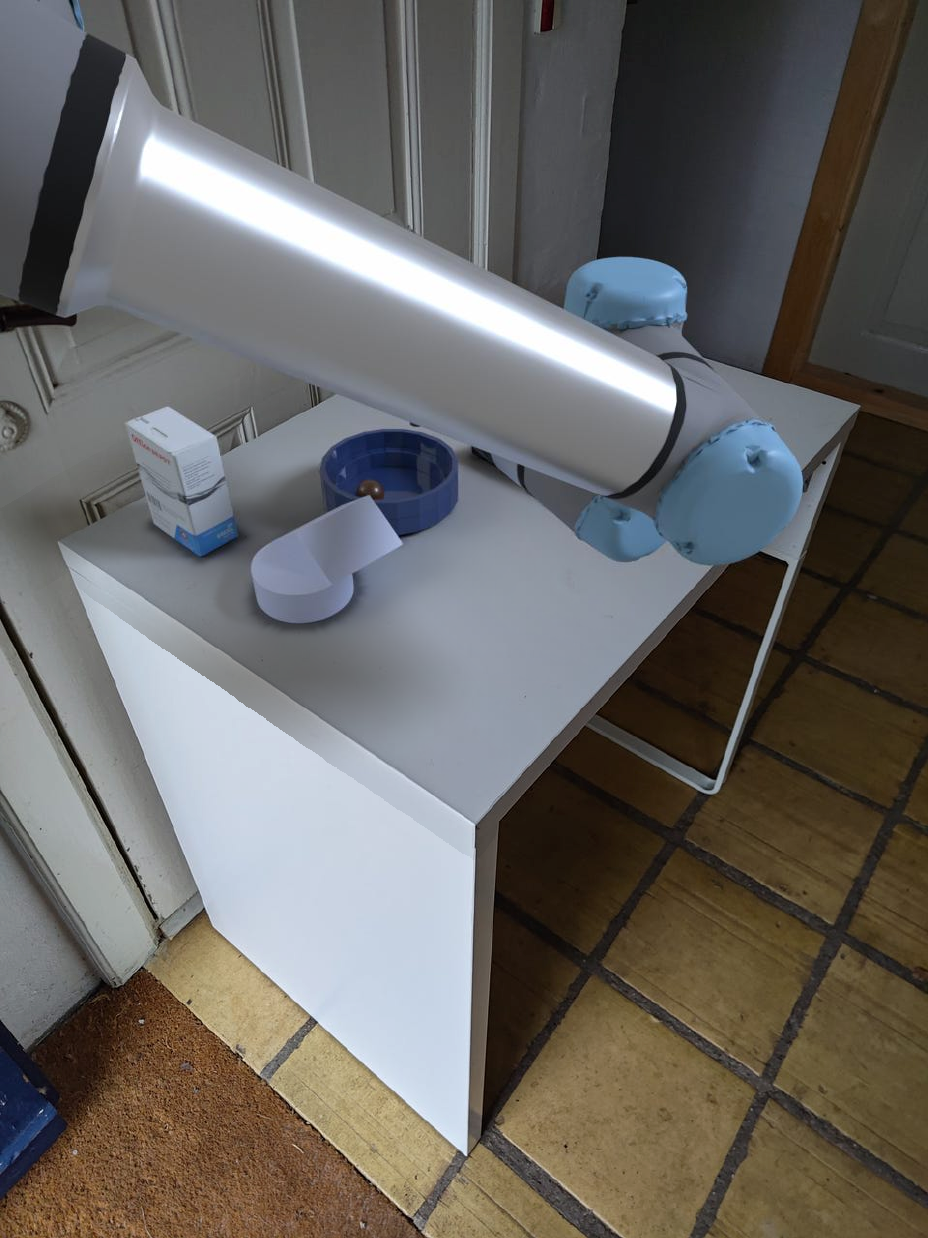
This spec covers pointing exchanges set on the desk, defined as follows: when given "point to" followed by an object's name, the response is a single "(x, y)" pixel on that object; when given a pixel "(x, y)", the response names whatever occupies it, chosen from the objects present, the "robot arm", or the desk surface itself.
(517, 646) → the desk surface
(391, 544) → the wedge on round base
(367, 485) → the ball
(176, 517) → the ink box
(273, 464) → the desk surface
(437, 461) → the bowl
